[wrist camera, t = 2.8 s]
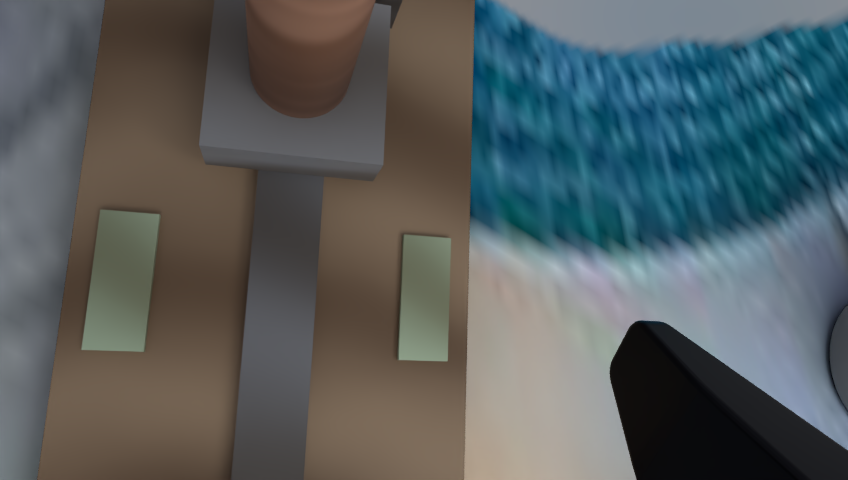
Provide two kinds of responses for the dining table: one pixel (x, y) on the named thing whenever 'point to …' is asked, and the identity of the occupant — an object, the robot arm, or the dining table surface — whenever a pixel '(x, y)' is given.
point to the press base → (264, 276)
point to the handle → (297, 87)
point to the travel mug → (840, 356)
